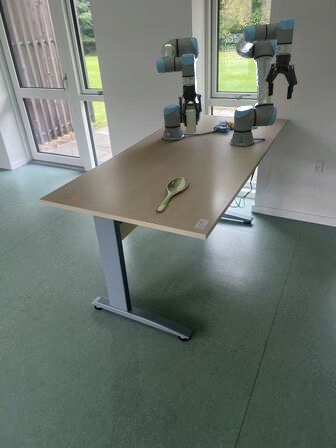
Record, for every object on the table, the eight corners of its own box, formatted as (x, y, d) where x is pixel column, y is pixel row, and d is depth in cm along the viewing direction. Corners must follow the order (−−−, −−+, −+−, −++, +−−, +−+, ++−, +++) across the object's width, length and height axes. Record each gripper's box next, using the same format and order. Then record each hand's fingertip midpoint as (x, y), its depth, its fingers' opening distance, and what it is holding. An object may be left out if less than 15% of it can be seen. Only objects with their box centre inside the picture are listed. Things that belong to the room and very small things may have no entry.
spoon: (170, 216, 152) (169, 212, 151) (148, 213, 156) (148, 209, 155) (192, 180, 179) (192, 176, 178) (173, 178, 182) (173, 175, 181)
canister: (184, 131, 205) (183, 110, 199) (193, 129, 207) (192, 108, 201) (188, 134, 200) (187, 112, 194) (198, 132, 202) (197, 110, 196)
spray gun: (238, 125, 262) (220, 124, 268) (238, 119, 260) (220, 119, 266) (230, 133, 247) (211, 133, 253) (230, 128, 244) (211, 127, 251)
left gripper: (174, 87, 185) (177, 129, 197) (207, 83, 188) (208, 124, 200) (171, 85, 191) (173, 126, 203) (202, 81, 195) (203, 121, 207)
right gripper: (260, 53, 178) (258, 95, 189) (297, 55, 159) (292, 101, 170) (271, 52, 181) (268, 93, 192) (308, 53, 162) (302, 99, 173)
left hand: (190, 125), depth 202 cm, fingers closed on canister, 6 cm apart
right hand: (279, 97), depth 181 cm, fingers open, 13 cm apart
